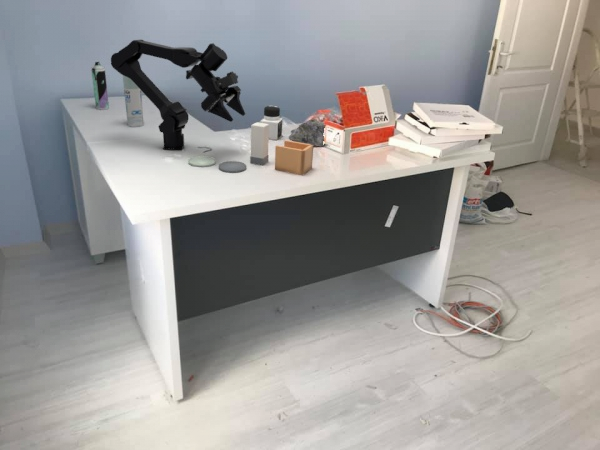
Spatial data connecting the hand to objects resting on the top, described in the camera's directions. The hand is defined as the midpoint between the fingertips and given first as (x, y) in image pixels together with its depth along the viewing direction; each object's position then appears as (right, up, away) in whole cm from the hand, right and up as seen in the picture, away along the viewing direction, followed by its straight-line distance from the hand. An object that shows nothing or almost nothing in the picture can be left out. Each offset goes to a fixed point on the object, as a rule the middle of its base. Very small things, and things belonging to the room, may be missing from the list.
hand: (238, 117), depth 165 cm
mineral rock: (+24, -4, +27) cm, 36 cm away
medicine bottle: (+9, -1, +32) cm, 33 cm away
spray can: (-68, +17, +58) cm, 91 cm away
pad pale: (-12, -15, 0) cm, 19 cm away
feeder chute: (+18, -17, 0) cm, 25 cm away
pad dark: (-2, -17, -3) cm, 17 cm away
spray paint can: (-46, +5, +37) cm, 59 cm away
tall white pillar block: (+7, -14, +4) cm, 16 cm away
